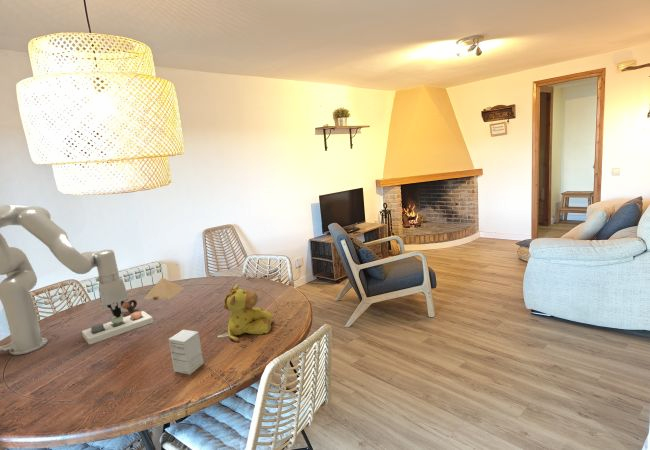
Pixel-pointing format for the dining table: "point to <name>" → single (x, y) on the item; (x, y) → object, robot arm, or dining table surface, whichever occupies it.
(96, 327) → the button charcoal
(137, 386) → the dining table surface
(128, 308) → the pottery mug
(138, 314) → the button terracotta
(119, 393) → the dining table surface
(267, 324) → the giraffe plush
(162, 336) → the dining table surface
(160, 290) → the model pyramid
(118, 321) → the button sage
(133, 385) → the dining table surface
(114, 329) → the panel
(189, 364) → the supplement box
